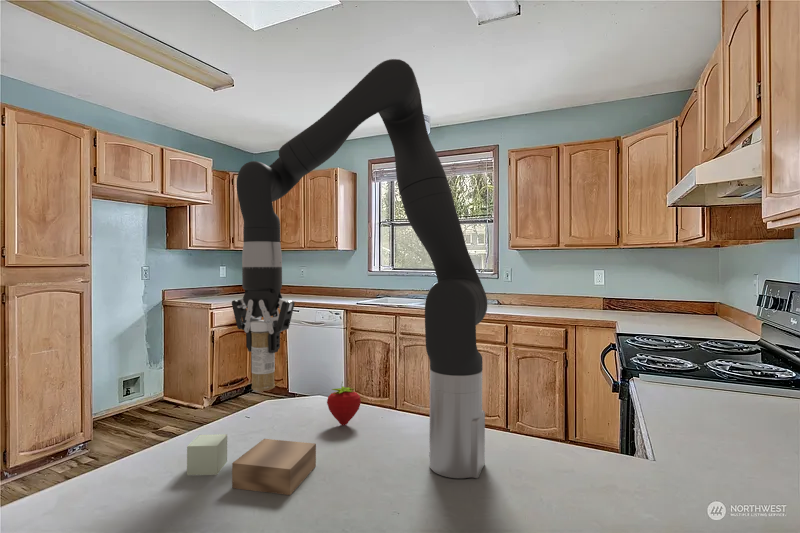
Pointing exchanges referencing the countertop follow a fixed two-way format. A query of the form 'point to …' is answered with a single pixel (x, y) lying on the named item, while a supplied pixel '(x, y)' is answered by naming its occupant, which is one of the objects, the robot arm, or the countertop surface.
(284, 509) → the countertop surface
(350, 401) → the strawberry
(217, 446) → the sage cube
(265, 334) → the sprinkles bottle
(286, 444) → the walnut block
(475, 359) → the robot arm
